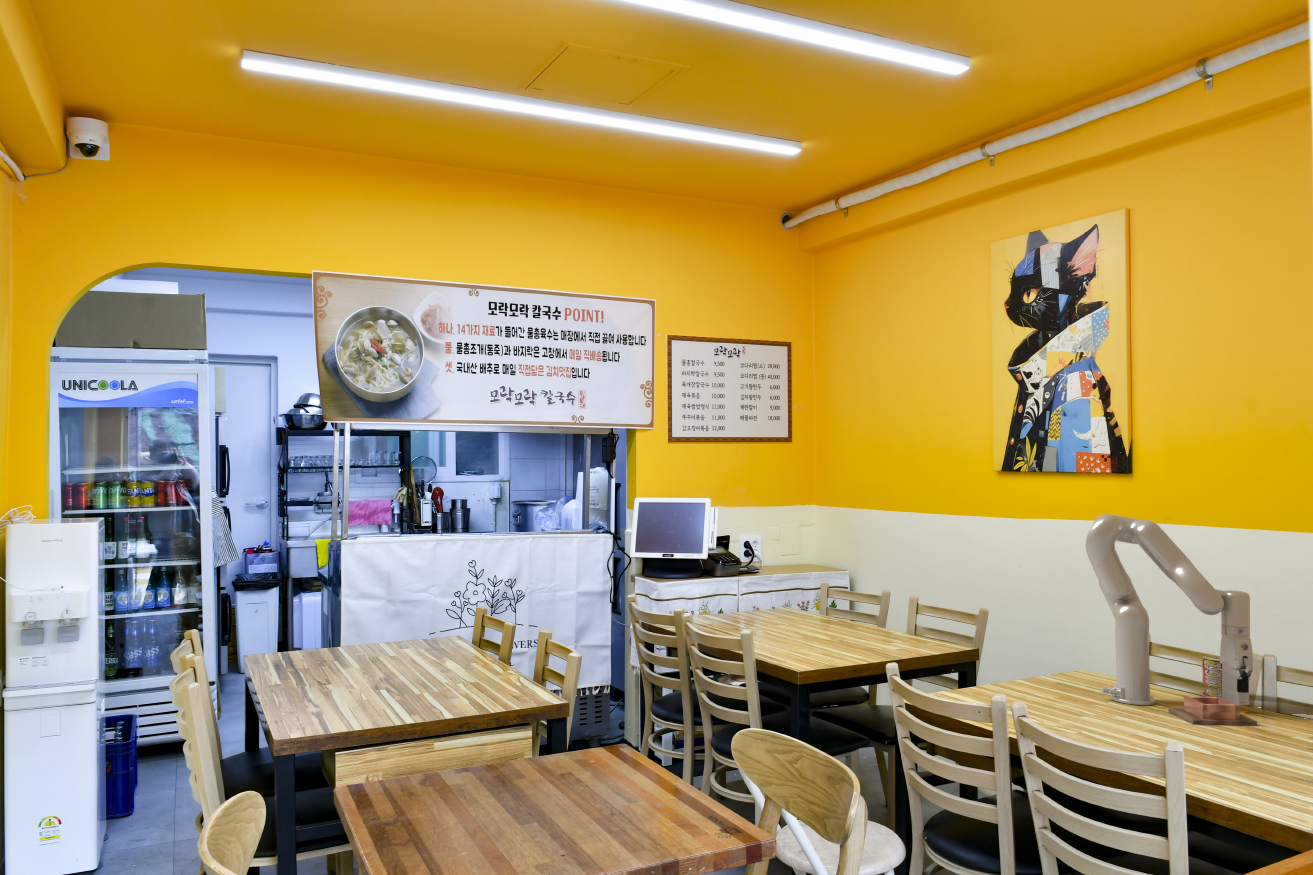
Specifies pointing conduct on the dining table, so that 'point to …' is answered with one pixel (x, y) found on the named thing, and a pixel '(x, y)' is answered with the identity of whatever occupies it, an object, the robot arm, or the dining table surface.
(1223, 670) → the skincare box
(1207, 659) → the beverage can
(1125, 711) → the dining table surface
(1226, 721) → the caddy
